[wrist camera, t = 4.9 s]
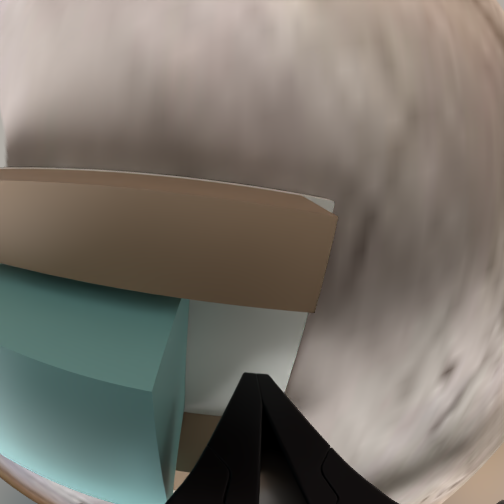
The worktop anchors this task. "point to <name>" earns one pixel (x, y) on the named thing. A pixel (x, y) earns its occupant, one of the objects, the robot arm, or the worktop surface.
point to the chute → (182, 265)
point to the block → (92, 384)
